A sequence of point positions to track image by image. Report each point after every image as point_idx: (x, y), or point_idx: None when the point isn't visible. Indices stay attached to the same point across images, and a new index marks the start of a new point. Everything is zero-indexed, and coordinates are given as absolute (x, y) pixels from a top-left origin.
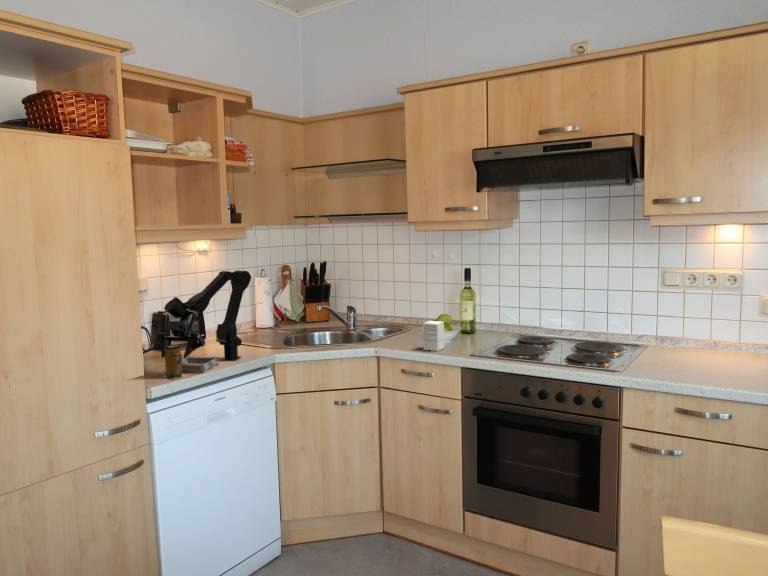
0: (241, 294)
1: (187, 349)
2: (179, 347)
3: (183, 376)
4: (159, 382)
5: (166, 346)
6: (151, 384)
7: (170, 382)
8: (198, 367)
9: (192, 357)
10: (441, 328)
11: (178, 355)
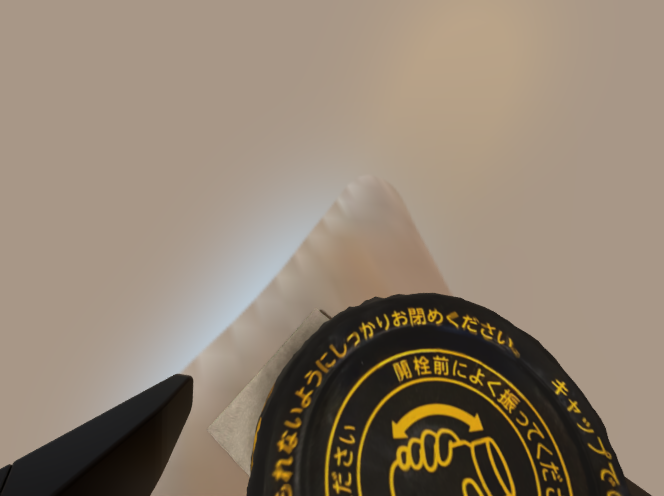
0: None
1: (48, 455)
2: (249, 487)
3: (255, 410)
4: (377, 258)
5: (594, 424)
6: (403, 220)
7: (305, 252)
8: None
9: None
10: None
11: (273, 386)
